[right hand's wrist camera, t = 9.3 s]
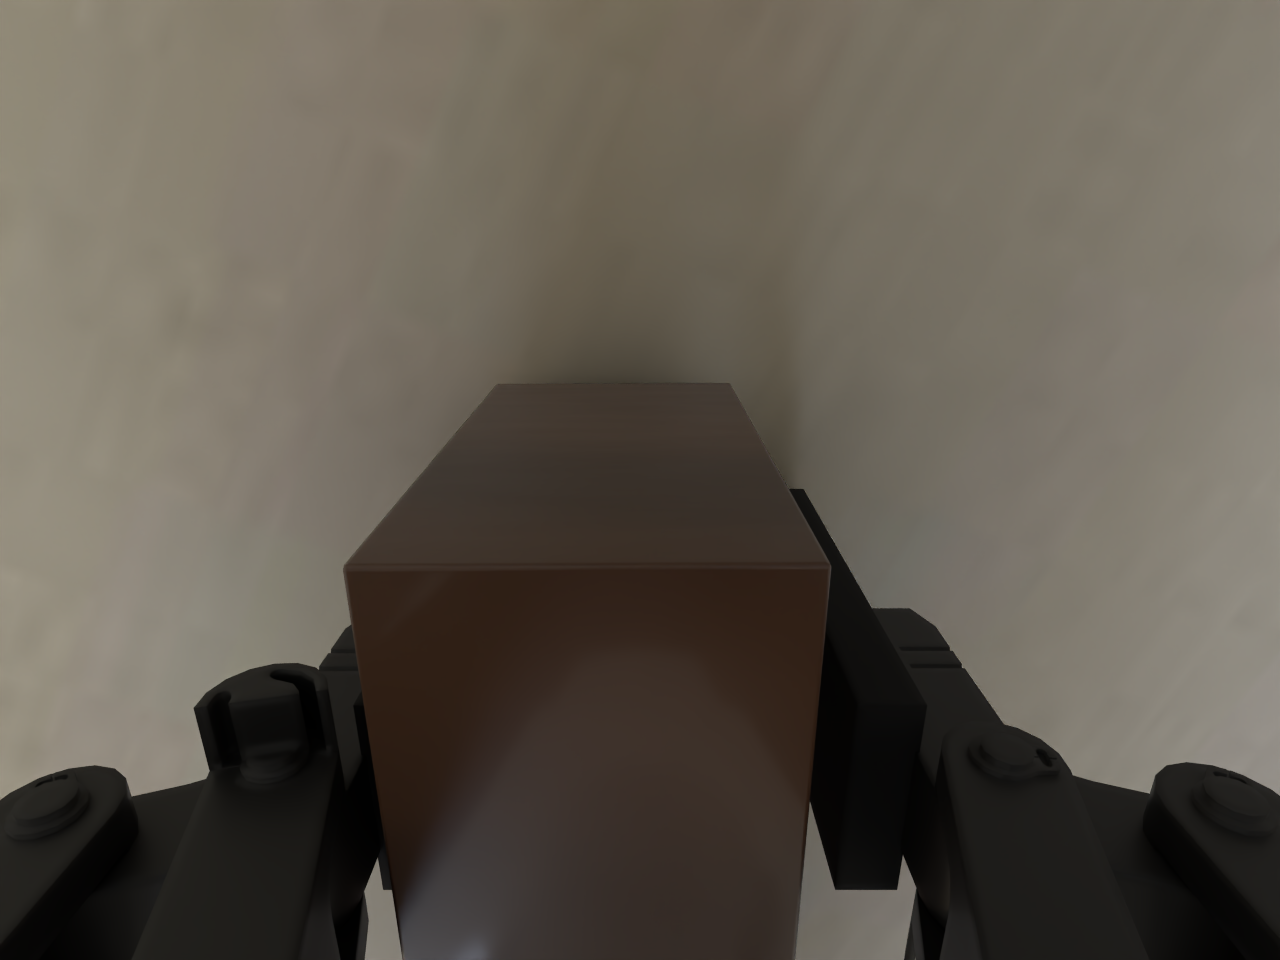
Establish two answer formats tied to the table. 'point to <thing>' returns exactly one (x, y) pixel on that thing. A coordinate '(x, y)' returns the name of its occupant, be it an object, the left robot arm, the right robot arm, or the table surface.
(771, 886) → the walnut beam
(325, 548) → the table surface
